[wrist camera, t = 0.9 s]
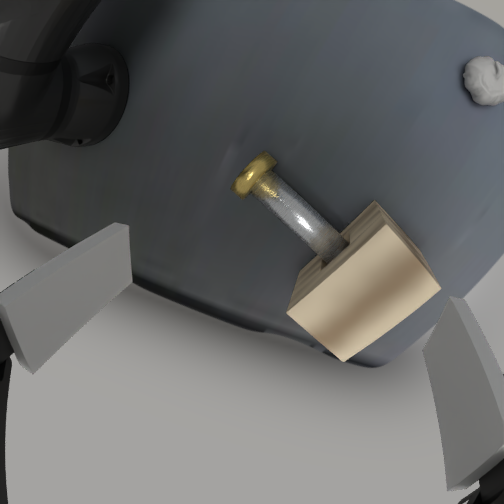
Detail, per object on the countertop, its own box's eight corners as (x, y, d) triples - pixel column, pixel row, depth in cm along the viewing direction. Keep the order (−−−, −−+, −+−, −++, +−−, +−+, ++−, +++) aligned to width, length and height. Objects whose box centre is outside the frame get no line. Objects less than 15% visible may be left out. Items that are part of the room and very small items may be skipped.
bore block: (299, 271, 36) (286, 312, 28) (374, 199, 30) (386, 224, 22) (345, 313, 36) (343, 362, 28) (420, 250, 31) (441, 288, 23)
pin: (240, 184, 32) (223, 194, 28) (270, 149, 30) (257, 152, 26) (332, 269, 33) (330, 291, 29) (365, 239, 31) (368, 257, 26)
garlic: (470, 48, 20) (488, 37, 16) (504, 82, 20) (526, 77, 16) (448, 84, 23) (466, 77, 19) (484, 118, 23) (506, 117, 18)
